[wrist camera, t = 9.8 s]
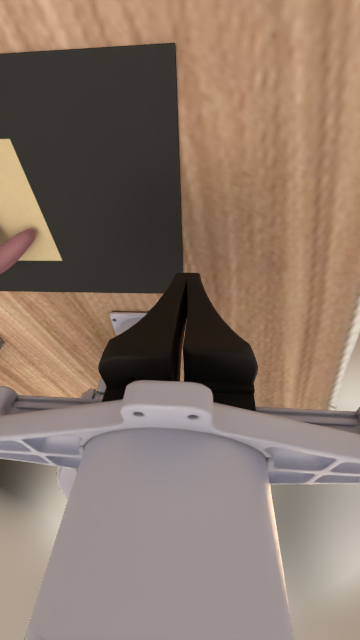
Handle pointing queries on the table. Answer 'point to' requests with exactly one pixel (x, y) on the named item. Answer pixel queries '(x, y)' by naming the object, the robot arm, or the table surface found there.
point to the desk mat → (91, 169)
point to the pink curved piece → (15, 248)
